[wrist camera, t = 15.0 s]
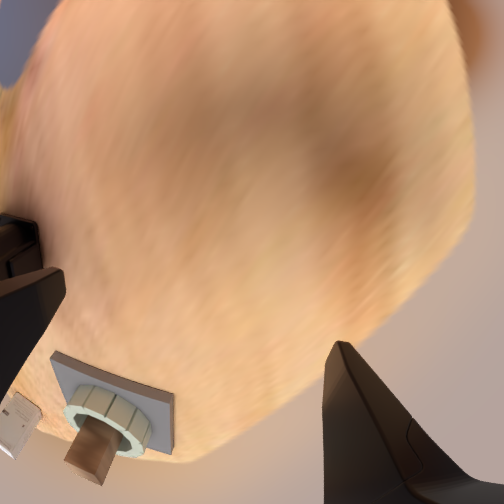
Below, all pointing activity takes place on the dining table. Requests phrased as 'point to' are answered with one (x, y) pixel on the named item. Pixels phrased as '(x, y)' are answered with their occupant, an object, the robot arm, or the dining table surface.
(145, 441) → the collar holder
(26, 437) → the skincare box
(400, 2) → the dining table surface
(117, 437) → the walnut peg
